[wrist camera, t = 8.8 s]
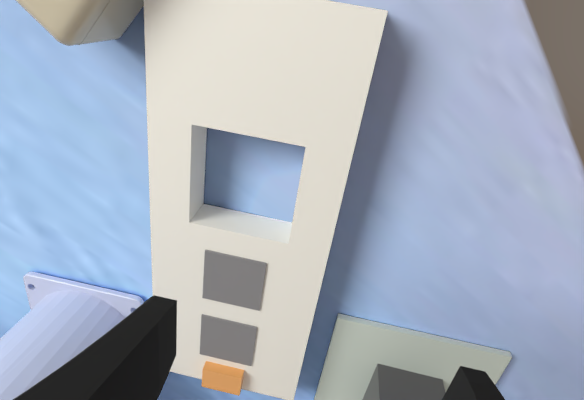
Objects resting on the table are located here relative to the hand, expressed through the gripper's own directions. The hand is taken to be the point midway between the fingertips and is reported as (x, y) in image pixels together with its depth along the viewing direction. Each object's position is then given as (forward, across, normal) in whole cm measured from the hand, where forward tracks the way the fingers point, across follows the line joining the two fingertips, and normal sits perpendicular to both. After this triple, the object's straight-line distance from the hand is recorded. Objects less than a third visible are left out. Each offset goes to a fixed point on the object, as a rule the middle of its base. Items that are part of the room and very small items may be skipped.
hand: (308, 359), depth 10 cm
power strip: (+10, +4, +3) cm, 12 cm away
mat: (+10, -7, +13) cm, 18 cm away
